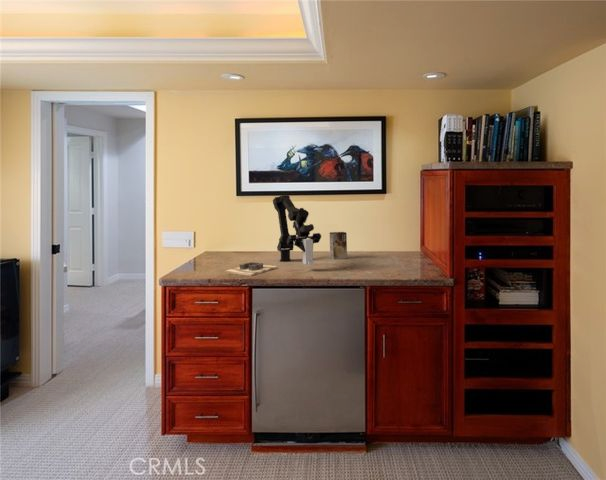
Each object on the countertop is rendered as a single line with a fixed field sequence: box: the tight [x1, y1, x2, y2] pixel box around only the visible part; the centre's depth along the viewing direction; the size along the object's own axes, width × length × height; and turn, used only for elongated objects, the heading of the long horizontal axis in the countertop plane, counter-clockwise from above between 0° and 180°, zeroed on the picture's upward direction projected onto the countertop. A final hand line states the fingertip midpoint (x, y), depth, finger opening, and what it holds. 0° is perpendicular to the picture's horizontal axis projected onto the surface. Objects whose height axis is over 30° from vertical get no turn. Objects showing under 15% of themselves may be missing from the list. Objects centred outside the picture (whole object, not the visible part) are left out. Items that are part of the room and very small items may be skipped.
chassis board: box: [223, 261, 279, 277], centre depth 261 cm, size 24×18×4 cm
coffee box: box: [329, 231, 348, 260], centre depth 293 cm, size 9×6×16 cm
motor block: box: [301, 238, 314, 265], centre depth 256 cm, size 6×4×14 cm
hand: (308, 251), depth 255 cm, fingers closed on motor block, 4 cm apart
